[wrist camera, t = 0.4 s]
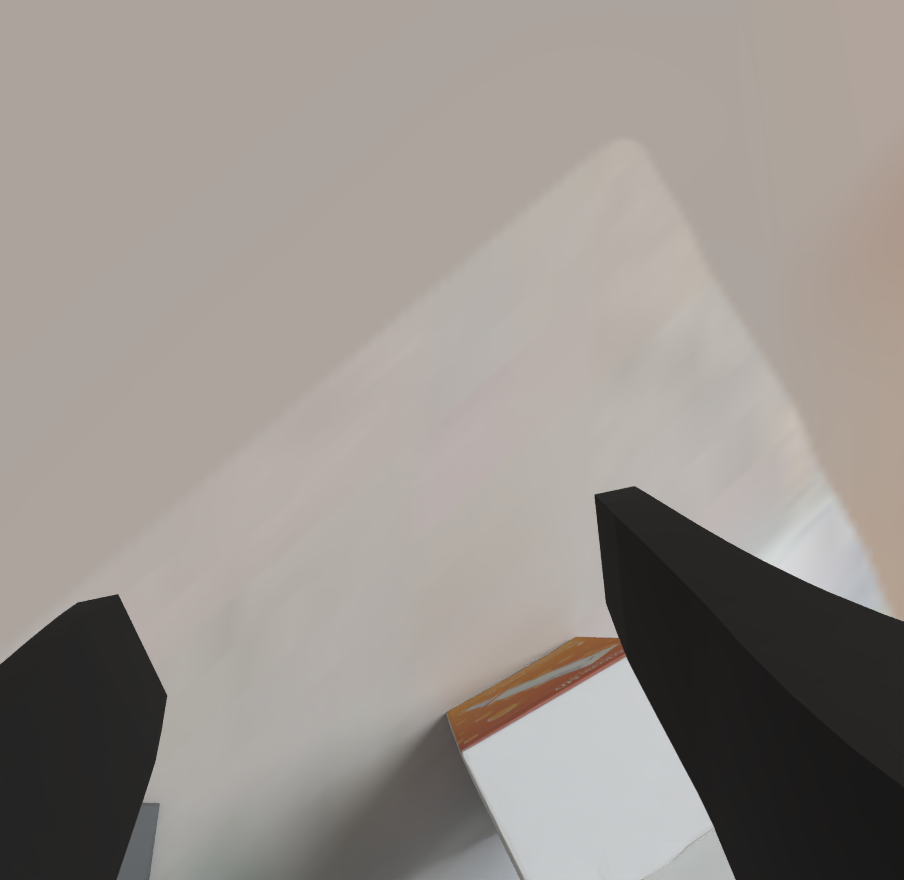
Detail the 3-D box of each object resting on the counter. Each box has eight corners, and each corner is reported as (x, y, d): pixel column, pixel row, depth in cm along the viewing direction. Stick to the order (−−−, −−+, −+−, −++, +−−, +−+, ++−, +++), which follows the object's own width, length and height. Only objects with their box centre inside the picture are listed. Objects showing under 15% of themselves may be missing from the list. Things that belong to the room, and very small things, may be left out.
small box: (576, 633, 37) (659, 632, 25) (639, 747, 36) (760, 807, 23) (440, 711, 36) (456, 752, 23) (501, 833, 35) (552, 945, 22)
